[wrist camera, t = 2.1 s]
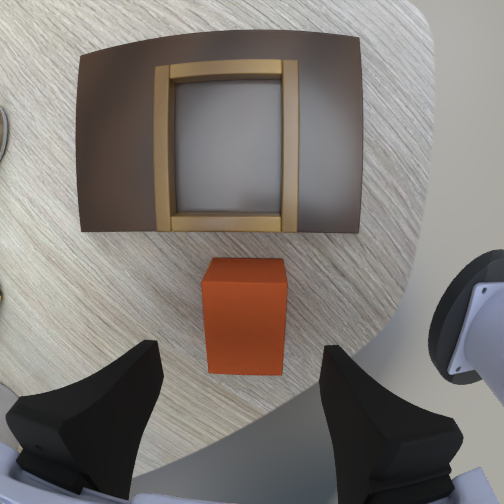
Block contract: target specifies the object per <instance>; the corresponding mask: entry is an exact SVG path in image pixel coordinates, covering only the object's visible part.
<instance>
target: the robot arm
mask: <svg viewBox="0 0 504 504" xmlns="http://www.w3.org/2000/svg"><path fill="white" fill-rule="evenodd" d="M483 288H484V289H483ZM482 290H483V291H482ZM471 370H476V372H477V373H478V374H479V375H480V377H481V378H482V379H483V380H484V382H485V383H486V384H487V385H488V386H489V388H490V389H491V390H492V392H493V393H494V394H495V396H496V397H497V398H498V400H499V401H500V402H501V403H502V405H503V406H504V282H486V283H477V284H476V285H475V286H474V287H473V290H472V294H471V298H470V302H469V305H468V309H467V313H466V316H465V319H464V323H463V326H462V329H461V332H460V335H459V338H458V341H457V344H456V347H455V350H454V353H453V356H452V358H451V361H450V364H449V366H448V369H447V371H448V373H449V374H450V375H452V374H457V373H462V372H466V371H471ZM163 379H164V374H163V369H162V363H161V358H160V353H159V347H158V342H157V341H155V340H143V341H142V342H140V343H139V344H137V345H136V346H135V347H133V348H132V349H130V350H129V351H128V352H126V353H125V354H124V355H122V356H121V357H119V358H118V359H117V360H115V361H114V362H112V363H111V364H109V365H107V366H106V367H104V368H103V369H101V370H100V371H98V372H96V373H94V374H92V375H91V376H89V377H87V378H85V379H83V380H80V381H78V382H76V383H73V384H71V385H68V386H65V387H63V388H60V389H56V390H53V391H49V392H45V393H41V394H36V395H29V396H22V397H19V399H18V400H17V401H16V402H15V404H14V405H13V406H12V407H11V408H10V410H9V411H8V412H7V413H6V416H5V419H6V422H7V425H8V427H9V429H10V431H11V432H12V434H13V435H14V437H15V438H16V440H17V441H18V442H19V444H20V445H21V447H22V448H23V450H22V452H21V453H19V452H17V451H16V450H15V449H13V448H12V447H10V446H8V445H6V444H4V443H2V442H1V441H0V504H237V503H227V502H214V501H204V500H196V499H188V498H181V497H175V496H169V495H163V494H158V493H146V492H144V493H141V494H138V495H135V496H134V497H133V500H132V502H131V501H128V499H129V492H130V485H131V480H132V474H133V469H134V465H135V460H136V456H137V452H138V448H139V445H140V441H141V438H142V435H143V432H144V430H145V427H146V425H147V422H148V420H149V418H150V415H151V413H152V411H153V408H154V406H155V404H156V401H157V399H158V396H159V394H160V390H161V387H162V383H163ZM319 384H320V394H321V401H322V405H323V409H324V413H325V416H326V420H327V424H328V428H329V432H330V435H331V439H332V444H333V450H334V458H335V466H336V477H337V491H338V504H499V502H498V500H497V498H496V496H495V494H494V492H493V490H492V488H491V486H490V484H489V482H488V480H487V478H486V476H485V474H484V472H483V470H482V468H481V467H478V468H476V469H473V470H471V471H468V472H466V473H463V474H461V475H458V476H457V477H455V478H454V479H452V480H451V478H450V476H449V474H450V473H451V470H452V469H451V467H450V465H449V463H450V462H451V460H452V459H453V458H454V456H455V455H456V453H457V452H458V450H459V449H460V447H461V445H462V443H463V438H464V437H463V434H462V433H461V431H460V429H459V427H458V425H457V424H456V422H455V421H454V419H453V418H450V417H446V416H443V415H439V414H436V413H433V412H430V411H427V410H425V409H422V408H420V407H418V406H415V405H413V404H411V403H409V402H407V401H405V400H403V399H402V398H400V397H398V396H397V395H395V394H393V393H392V392H390V391H389V390H387V389H386V388H384V387H383V386H382V385H380V384H379V383H378V382H377V381H375V380H374V379H373V378H372V377H370V376H369V375H368V374H367V373H366V372H365V371H364V370H363V369H361V368H360V367H359V366H358V365H357V364H356V363H355V362H354V361H353V360H352V359H351V358H350V356H349V355H348V354H347V353H346V352H345V351H344V350H343V349H342V348H341V347H340V346H339V345H325V346H324V353H323V360H322V366H321V373H320V379H319Z"/></svg>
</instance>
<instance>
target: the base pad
mask: <svg viewBox="0 0 504 504" xmlns="http://www.w3.org/2000/svg"><path fill="white" fill-rule="evenodd" d="M362 172H363V89H362V68H361V53H360V40H359V37H353V36H346V35H338V34H330V33H320V32H308V31H293V30H227V31H211V32H200V33H190V34H181V35H174V36H167V37H160V38H154V39H148V40H143V41H138V42H133V43H128V44H124V45H119V46H115V47H111V48H107V49H103V50H99V51H95V52H92V53H88V54H85V55H81V56H80V64H79V74H78V86H77V102H76V175H77V192H78V205H79V216H80V225H81V232H132V231H157V232H171V231H173V232H283V233H296V232H312V233H355V234H358V233H359V224H360V211H361V194H362Z"/></svg>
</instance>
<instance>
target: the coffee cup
mask: <svg viewBox="0 0 504 504" xmlns="http://www.w3.org/2000/svg"><path fill="white" fill-rule="evenodd" d="M18 399H19V397H18V396H17V395H16V394H15V393H13V392H12V391H11V390H10V389H9V388H7V387H6V386H4V385H2V384H0V441H1V442H2V443H4V444H6V445H8V446H10V447H12V448H13V449H15V450H17V449H18V447H19V445H20V444H19V442H18V441H17V440H16V438H15V437H14V435H13V434H12V432H11V431H10V429H9V427H8V425H7V422H6V419H5V416H6V413H7V412H8V411H9V410H10V408H11V407H12V406H13V405H14V404H15V402H16V401H17V400H18Z"/></svg>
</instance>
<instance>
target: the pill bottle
mask: <svg viewBox="0 0 504 504" xmlns="http://www.w3.org/2000/svg"><path fill="white" fill-rule="evenodd" d="M6 139H7V119H6V116H5V113H4V111H3V109H2V108H1V107H0V159H1V157H2V155H3V152H4V149H5V145H6Z"/></svg>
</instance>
